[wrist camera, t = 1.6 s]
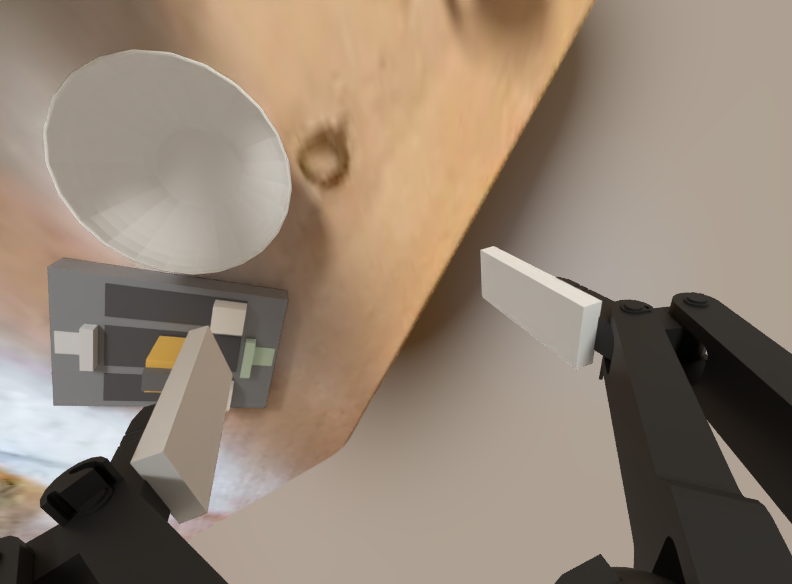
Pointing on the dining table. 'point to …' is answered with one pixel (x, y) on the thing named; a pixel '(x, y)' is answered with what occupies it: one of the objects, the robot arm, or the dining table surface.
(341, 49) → the dining table surface
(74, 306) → the panel
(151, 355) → the breaker handle
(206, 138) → the bowl
